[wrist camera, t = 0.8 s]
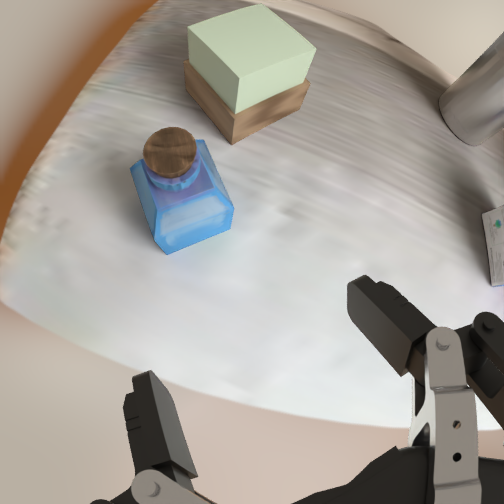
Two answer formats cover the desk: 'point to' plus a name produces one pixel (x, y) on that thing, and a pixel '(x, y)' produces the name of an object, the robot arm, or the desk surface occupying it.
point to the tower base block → (248, 119)
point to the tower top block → (248, 55)
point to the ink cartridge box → (495, 243)
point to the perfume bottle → (181, 190)
